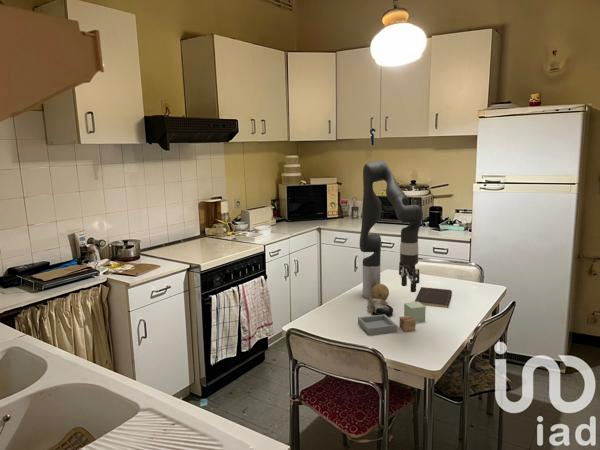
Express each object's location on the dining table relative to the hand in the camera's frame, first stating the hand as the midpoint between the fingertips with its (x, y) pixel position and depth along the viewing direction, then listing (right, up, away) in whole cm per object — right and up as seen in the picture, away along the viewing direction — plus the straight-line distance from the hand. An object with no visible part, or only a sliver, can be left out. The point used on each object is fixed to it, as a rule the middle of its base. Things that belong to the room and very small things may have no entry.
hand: (408, 288), depth 195 cm
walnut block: (0, -18, +3) cm, 18 cm away
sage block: (+6, -16, +14) cm, 22 cm away
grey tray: (-13, -18, +5) cm, 23 cm away
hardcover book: (+22, -11, +40) cm, 47 cm away
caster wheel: (-8, -15, +22) cm, 28 cm away
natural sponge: (-6, -12, +35) cm, 38 cm away
